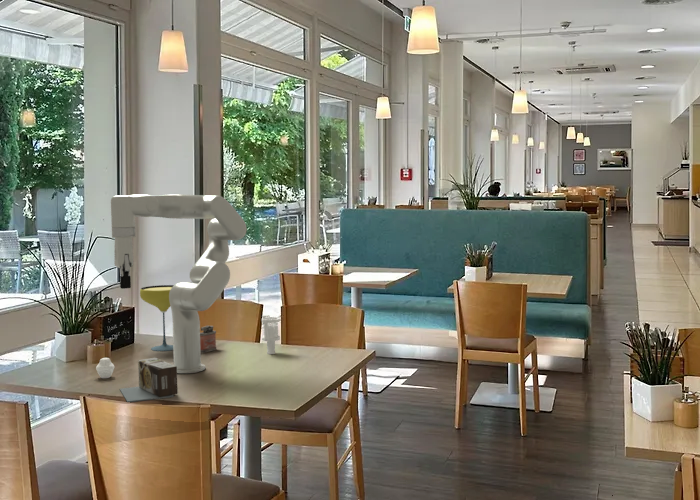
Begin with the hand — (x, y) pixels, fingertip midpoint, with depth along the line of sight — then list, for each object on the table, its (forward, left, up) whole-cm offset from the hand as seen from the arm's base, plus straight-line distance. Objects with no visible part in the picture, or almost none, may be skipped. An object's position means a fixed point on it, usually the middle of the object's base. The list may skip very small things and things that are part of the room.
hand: (125, 287), depth 254 cm
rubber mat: (+16, +3, -32) cm, 36 cm away
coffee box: (+8, +5, -27) cm, 29 cm away
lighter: (-40, +37, -32) cm, 63 cm away
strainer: (-23, +58, -32) cm, 70 cm away
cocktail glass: (-52, +22, -32) cm, 65 cm away
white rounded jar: (-12, -6, -32) cm, 35 cm away
